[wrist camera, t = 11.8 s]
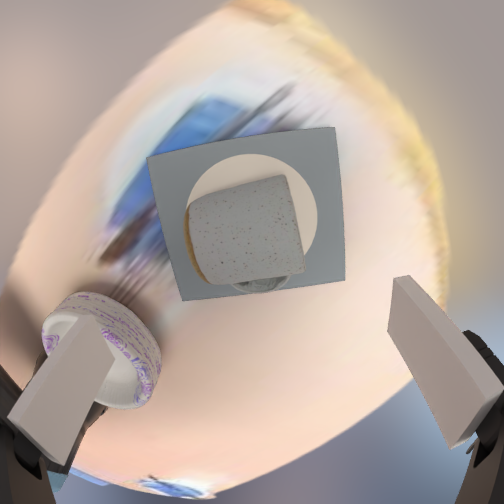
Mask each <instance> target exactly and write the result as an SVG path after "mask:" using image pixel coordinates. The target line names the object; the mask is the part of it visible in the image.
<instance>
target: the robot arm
mask: <svg viewBox="0 0 504 504" xmlns="http://www.w3.org/2000/svg"><path fill="white" fill-rule="evenodd" d="M387 332H388V333H389V335H390V337H391V338H392V340H393V342H394V343H395V345H396V347H397V349H398V350H399V352H400V354H401V356H402V357H403V359H404V361H405V363H406V364H407V366H408V368H409V370H410V372H411V373H412V375H413V377H414V379H415V381H416V383H417V384H418V386H419V388H420V390H421V392H422V394H423V396H424V398H425V400H426V402H427V404H428V406H429V408H430V409H431V412H432V414H433V415H434V418H435V420H436V422H437V424H438V426H439V428H440V430H441V432H442V434H443V436H444V438H445V441H446V443H447V445H448V448H449V450H451V449H453V448H455V447H457V446H458V445H460V444H462V443H464V442H466V441H468V440H469V438H470V437H471V436H472V435H473V433H474V432H476V433H477V435H478V438H477V439H476V440H475V442H474V443H473V444H472V445H471V446H470V447H469V449H468V450H467V452H466V454H469V453H470V452H471V451H472V450H473V452H472V456H471V459H470V463H469V466H468V469H467V472H466V476H465V478H464V481H463V484H462V486H461V489H460V492H459V494H458V497H457V499H456V502H455V504H504V365H503V364H502V363H501V362H500V361H499V359H498V358H497V357H496V356H495V355H493V352H492V351H491V350H490V348H488V347H487V345H486V343H485V342H484V341H483V340H482V339H481V338H480V337H479V336H478V335H476V334H475V333H473V332H471V331H470V330H467V331H464V332H461V331H460V330H459V328H458V327H457V326H456V325H455V324H454V323H453V321H452V320H451V319H450V318H449V317H448V316H447V315H446V314H445V312H444V311H443V310H442V309H441V308H440V307H439V306H438V305H437V304H436V303H435V301H434V300H433V299H432V298H431V297H430V296H429V295H428V294H427V293H426V292H425V291H424V290H423V289H422V288H421V287H420V286H419V285H418V284H417V283H416V281H415V280H414V279H413V278H412V277H411V276H410V275H407V276H402V277H397V278H393V290H392V299H391V308H390V316H389V323H388V330H387ZM114 361H115V358H114V356H113V354H112V353H111V351H110V349H109V347H108V345H107V343H106V341H105V339H104V337H103V335H102V333H101V331H100V329H99V327H98V325H97V323H96V321H95V319H94V316H93V315H81V316H80V317H79V318H78V320H77V321H76V322H75V323H74V324H73V326H72V327H71V328H70V329H69V331H68V332H67V333H66V334H65V336H64V337H63V338H62V339H61V341H60V342H59V343H58V345H57V346H56V347H55V348H54V350H53V351H52V352H51V354H50V355H49V356H48V355H47V353H46V351H45V350H44V351H43V352H42V353H41V355H40V356H39V357H38V359H37V362H36V367H35V370H34V373H33V376H32V379H31V380H30V381H29V383H28V384H27V386H26V389H24V390H23V391H22V390H21V388H20V387H19V386H18V385H17V384H16V383H15V382H14V380H13V379H12V378H11V377H10V376H9V375H8V373H7V372H6V371H5V370H4V368H3V367H2V366H1V365H0V504H56V502H55V499H54V495H53V493H55V492H58V491H59V490H60V489H61V487H62V486H63V483H64V482H65V480H66V478H67V477H68V473H69V470H70V468H71V465H72V463H73V460H74V458H75V455H76V453H77V451H78V448H79V446H80V443H81V441H82V439H83V436H84V434H85V432H86V430H87V429H88V428H89V427H90V426H91V425H92V424H93V423H94V422H95V421H96V420H97V419H98V418H99V417H100V415H103V414H104V413H105V412H106V411H107V409H108V406H105V405H102V404H100V403H98V402H96V401H94V400H95V398H96V396H97V394H98V392H99V390H100V388H101V386H102V384H103V382H104V380H105V378H106V376H107V374H108V372H109V370H110V368H111V367H112V365H113V363H114ZM473 448H474V449H473Z"/></svg>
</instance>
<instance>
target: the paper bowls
mask: <svg viewBox="0 0 504 504" xmlns="http://www.w3.org/2000/svg"><path fill="white" fill-rule="evenodd" d="M81 315H93V316H94V319H95V321H96V323H97V325H98V327H99V329H100V331H101V333H102V335H103V337H104V339H105V341H106V343H107V345H108V347H109V349H110V351H111V353H112V354H113V356H114V358H115V361H114V363H113V365H112V367H111V368H110V370H109V372H108V374H107V376H106V378H105V380H104V382H103V384H102V386H101V388H100V390H99V392H98V394H97V396H96V398H95V400H94V401H96V402H98V403H100V404H102V405H105V406H108V407H112V408H117V409H135V408H138V407H141V406H142V405H144V404H145V403H146V402H147V401H148V400H149V399H150V397H151V395H152V393H153V390H154V387H155V385H156V383H157V380H158V377H159V374H160V371H161V366H162V358H161V353H160V349H159V346H158V344H157V342H156V340H155V338H154V337H153V335H152V333H151V332H150V330H149V329H148V328H147V327H146V326H145V325H144V323H143V322H142V321H141V320H140V319H139V318H138V317H137V316H136V315H135V314H134V313H133V312H132V311H131V310H129V309H128V308H127V307H125V306H124V305H122V304H121V303H119V302H117V301H116V300H114V299H111V298H110V297H108V296H105V295H102V294H99V293H94V292H77V293H74V294H71V295H69V296H68V297H67V298H66V299H65V300H64V301H63V302H62V303H61V304H60V305H59V306H58V307H57V308H56V309H55V310H54V311H53V312H52V313H51V314H50V315H49V316H48V317H47V318H46V319H45V321H44V323H43V326H42V342H43V345H44V348H45V351H46V353H47V355H48V356H49V355H50V354H51V352H52V351H53V350H54V348H55V347H56V346H57V345H58V343H59V342H60V341H61V339H62V338H63V337H64V336H65V334H66V333H67V332H68V331H69V329H70V328H71V327H72V326H73V324H74V323H75V322H76V321H77V320H78V318H79V317H80V316H81Z"/></svg>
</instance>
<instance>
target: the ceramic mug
mask: <svg viewBox="0 0 504 504" xmlns="http://www.w3.org/2000/svg"><path fill="white" fill-rule="evenodd" d="M183 231H184V240H185V245H186V250H187V253H188V256H189V259H190V262H191V264H192V266H193V268H194V270H195V271H196V273H197V274H198V276H199V277H200V278H201V279H202V280H203V281H205V282H206V283H208V284H216V285H225V284H231V285H232V286H233V287H234V288H235V289H237V290H240V291H242V292H246V293H267V292H271V291H274V290H277V289H279V288H281V287H283V286H284V285H285V284H286V283H287V282H288V280H289V279H290V277H291V275H293V274H299V273H303V272H305V271H306V264H305V258H304V251H303V247H302V242H301V237H300V232H299V227H298V222H297V217H296V212H295V207H294V203H293V199H292V196H291V192H290V188H289V184H288V181H287V178H286V176H285V175H282V174H281V175H277V176H273V177H269V178H265V179H261V180H257V181H253V182H249V183H245V184H241V185H238V186H235V187H232V188H228V189H224V190H220V191H216V192H213V193H209V194H206V195H204V196H202V197H200V198H198V199H195V200H194V201H193V202H191V203H190V204H189V206H188V207H187V209H186V212H185V215H184V221H183Z"/></svg>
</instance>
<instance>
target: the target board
mask: <svg viewBox="0 0 504 504" xmlns="http://www.w3.org/2000/svg"><path fill="white" fill-rule="evenodd" d="M146 159H147V164H148V169H149V174H150V179H151V184H152V188H153V193H154V197H155V202H156V206H157V210H158V214H159V219H160V223H161V227H162V231H163V234H164V238H165V242H166V246H167V250H168V253H169V257H170V261H171V264H172V268H173V271H174V275H175V278H176V281H177V285H178V288H179V291H180V295H181V298H182V301H189V300H199V299H209V298H218V297H227V296H236V295H244V294H252V293H246V292H242V291H240V290H237V289H235V288H234V287H233V286H232V285H231V284H225V285H216V284H208V283H206V282H205V281H203V280H202V279H201V278H200V277H199V276H198V274H197V273H196V271H195V270H194V268H193V266H192V264H191V262H190V259H189V256H188V253H187V250H186V245H185V240H184V231H183V221H184V215H185V212H186V209H187V207H188V206H189V204H190V203H191V202H193V201H194V200H195V199H198V198H200V197H202V196H204V195H206V194H209V193H213V192H216V191H220V190H224V189H228V188H232V187H235V186H238V185H241V184H245V183H249V182H253V181H257V180H261V179H265V178H269V177H273V176H277V175H281V174H282V175H285V176H286V178H287V181H288V184H289V188H290V192H291V196H292V199H293V203H294V207H295V212H296V217H297V222H298V227H299V232H300V237H301V242H302V247H303V251H304V258H305V264H306V271H305V272H303V273H299V274H293V275H291V277H290V279H289V280H288V282H287V283H286V284H285V285H284V286H283V287H281V288H279V289H277V290H284V289H291V288H298V287H305V286H312V285H319V284H325V283H332V282H338V281H345V242H344V220H343V203H342V190H341V178H340V167H339V158H338V149H337V141H336V133H335V127H329V128H315V129H304V130H294V131H284V132H276V133H268V134H261V135H254V136H247V137H241V138H235V139H229V140H223V141H218V142H212V143H207V144H202V145H197V146H193V147H188V148H184V149H179V150H175V151H171V152H166V153H162V154H158V155H154V156H151V157H147V158H146ZM274 291H276V290H274Z"/></svg>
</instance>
